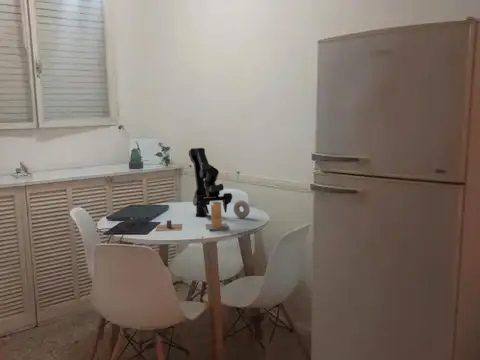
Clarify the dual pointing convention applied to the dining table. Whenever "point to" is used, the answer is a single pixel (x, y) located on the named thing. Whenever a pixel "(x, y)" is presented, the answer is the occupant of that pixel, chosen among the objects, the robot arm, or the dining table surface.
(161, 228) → the post board
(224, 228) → the mat
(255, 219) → the dining table surface
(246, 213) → the donut
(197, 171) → the robot arm
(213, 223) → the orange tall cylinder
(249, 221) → the dining table surface
